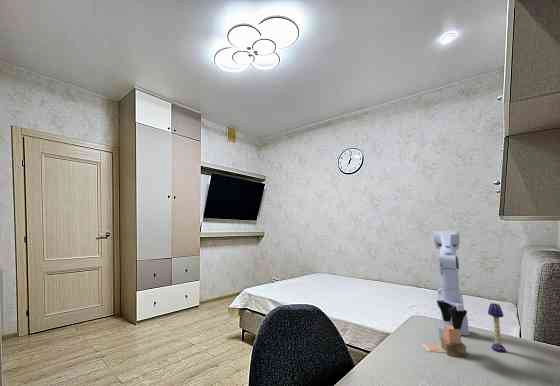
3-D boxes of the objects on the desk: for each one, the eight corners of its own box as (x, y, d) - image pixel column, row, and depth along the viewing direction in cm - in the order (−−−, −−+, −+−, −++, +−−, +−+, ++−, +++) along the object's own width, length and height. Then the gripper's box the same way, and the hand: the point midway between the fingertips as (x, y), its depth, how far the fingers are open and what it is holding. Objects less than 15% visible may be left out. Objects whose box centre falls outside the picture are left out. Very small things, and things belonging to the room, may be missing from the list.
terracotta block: (455, 339, 101) (454, 325, 101) (461, 343, 97) (460, 329, 97) (444, 338, 101) (443, 324, 101) (449, 343, 97) (448, 328, 98)
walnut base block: (459, 350, 100) (458, 339, 101) (466, 357, 94) (465, 346, 95) (441, 348, 102) (441, 337, 102) (447, 355, 96) (446, 344, 96)
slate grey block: (448, 339, 109) (447, 327, 109) (455, 344, 105) (455, 330, 105) (439, 340, 108) (438, 327, 109) (446, 344, 104) (445, 331, 105)
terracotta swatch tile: (438, 345, 103) (438, 344, 103) (445, 352, 98) (445, 351, 98) (422, 344, 104) (422, 343, 104) (428, 351, 98) (428, 350, 98)
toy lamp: (507, 354, 97) (504, 306, 99) (491, 351, 99) (488, 304, 101) (504, 348, 101) (501, 303, 103) (489, 346, 104) (486, 301, 106)
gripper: (430, 282, 108) (432, 317, 107) (447, 291, 94) (449, 331, 93) (449, 283, 107) (451, 318, 106) (469, 292, 93) (471, 333, 92)
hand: (451, 324), depth 99 cm, fingers open, 7 cm apart
